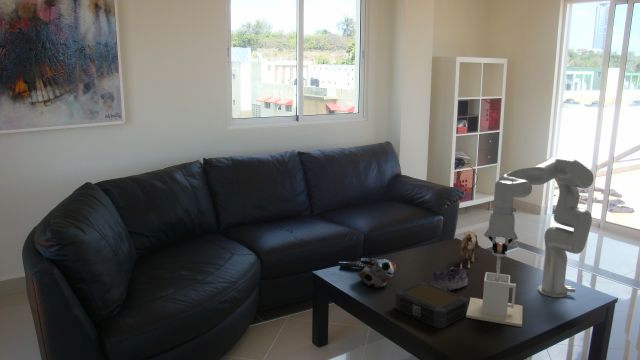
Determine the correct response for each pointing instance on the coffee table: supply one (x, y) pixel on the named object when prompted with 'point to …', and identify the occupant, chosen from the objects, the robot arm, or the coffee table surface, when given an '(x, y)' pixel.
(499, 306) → the square white mug
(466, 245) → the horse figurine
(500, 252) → the plunger
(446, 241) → the coffee table surface
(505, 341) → the coffee table surface
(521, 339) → the coffee table surface
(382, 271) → the lucky cat figurine
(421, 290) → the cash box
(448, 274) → the geode
